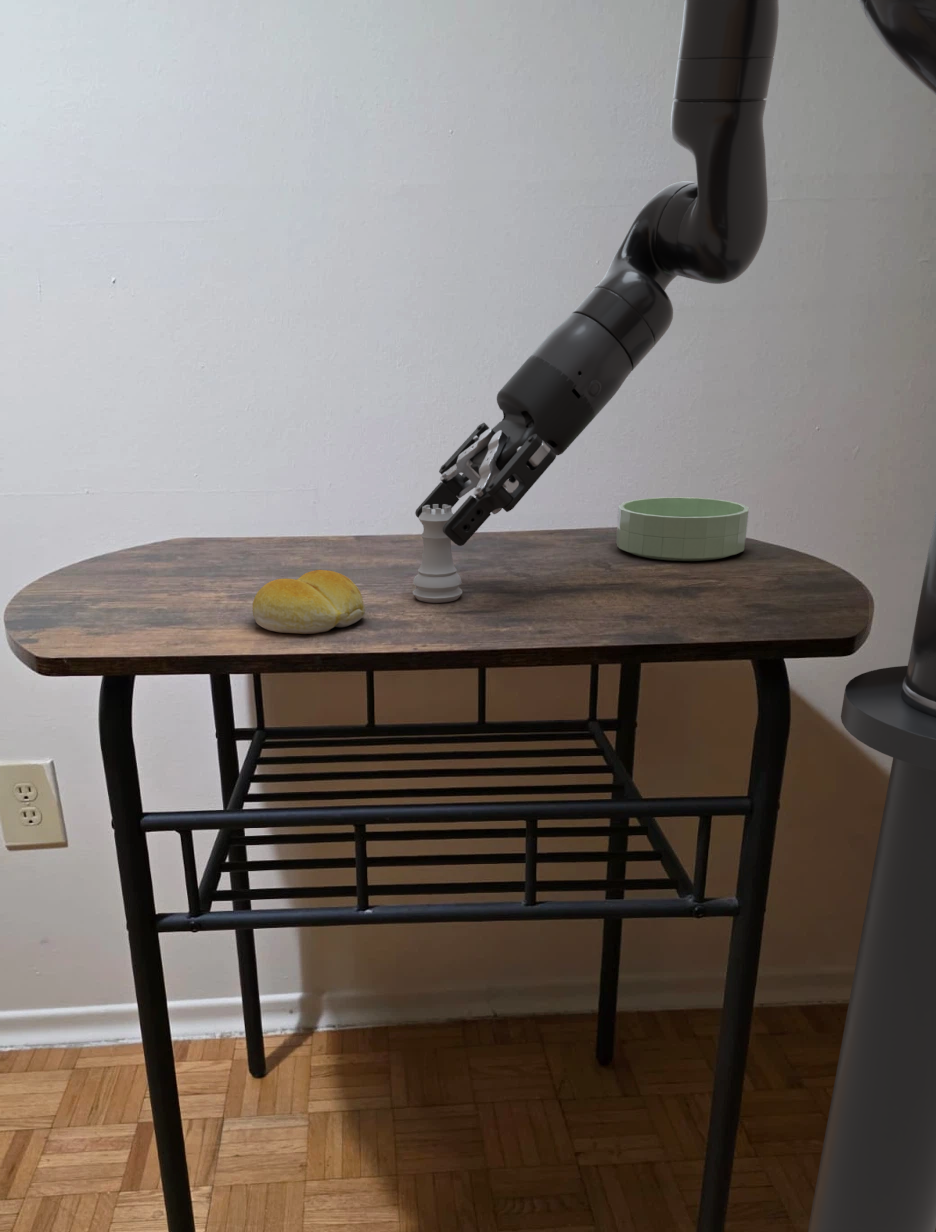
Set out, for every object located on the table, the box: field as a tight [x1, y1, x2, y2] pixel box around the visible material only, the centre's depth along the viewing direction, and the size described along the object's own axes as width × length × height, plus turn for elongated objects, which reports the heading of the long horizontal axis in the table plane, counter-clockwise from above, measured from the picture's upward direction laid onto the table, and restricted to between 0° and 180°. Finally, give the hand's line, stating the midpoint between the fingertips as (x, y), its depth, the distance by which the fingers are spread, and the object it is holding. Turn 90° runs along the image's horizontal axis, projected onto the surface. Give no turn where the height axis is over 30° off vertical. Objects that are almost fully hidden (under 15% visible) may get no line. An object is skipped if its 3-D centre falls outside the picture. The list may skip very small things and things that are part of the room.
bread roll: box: [252, 569, 366, 635], centre depth 79 cm, size 8×9×4 cm
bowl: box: [615, 496, 750, 562], centre depth 102 cm, size 13×13×4 cm
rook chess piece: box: [412, 504, 463, 604], centre depth 85 cm, size 4×4×8 cm
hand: (435, 530), depth 84 cm, fingers open, 8 cm apart
